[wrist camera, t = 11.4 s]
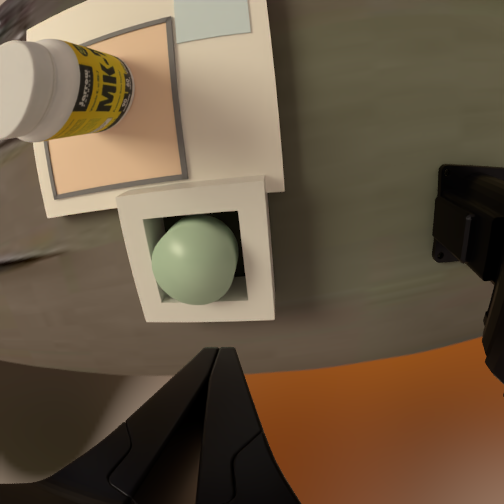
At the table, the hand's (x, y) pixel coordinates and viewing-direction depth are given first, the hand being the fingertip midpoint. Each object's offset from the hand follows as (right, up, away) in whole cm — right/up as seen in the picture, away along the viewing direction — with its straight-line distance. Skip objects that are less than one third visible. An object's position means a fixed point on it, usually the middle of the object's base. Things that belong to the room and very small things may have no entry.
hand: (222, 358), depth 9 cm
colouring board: (-6, +13, +8) cm, 16 cm away
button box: (-2, +4, +12) cm, 12 cm away
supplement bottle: (-8, +12, +7) cm, 16 cm away
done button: (-2, +3, +10) cm, 11 cm away
